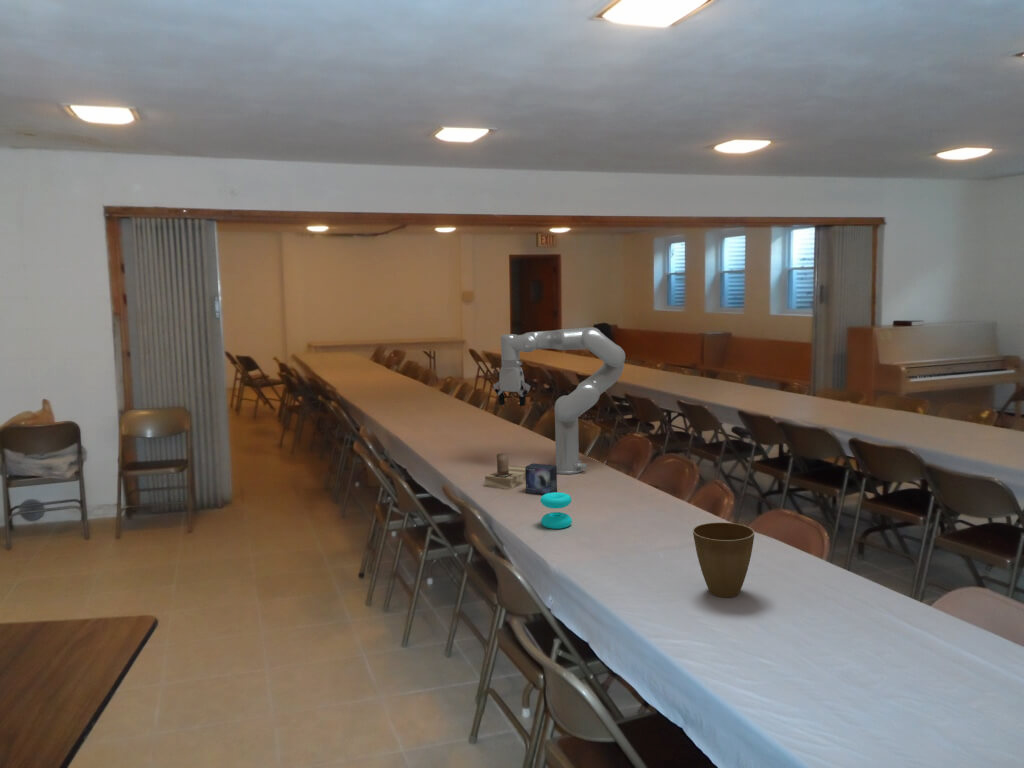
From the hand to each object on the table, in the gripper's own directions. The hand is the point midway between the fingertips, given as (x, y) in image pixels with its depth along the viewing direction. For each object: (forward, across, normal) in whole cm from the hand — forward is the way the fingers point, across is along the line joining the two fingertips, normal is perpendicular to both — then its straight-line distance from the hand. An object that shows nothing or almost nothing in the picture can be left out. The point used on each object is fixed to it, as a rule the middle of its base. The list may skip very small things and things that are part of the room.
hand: (512, 405), depth 333 cm
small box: (+28, -26, +25) cm, 46 cm away
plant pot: (+29, -113, +91) cm, 148 cm away
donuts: (+28, -50, +59) cm, 82 cm away
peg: (+28, -7, +21) cm, 36 cm away
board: (+28, -7, +16) cm, 33 cm away
